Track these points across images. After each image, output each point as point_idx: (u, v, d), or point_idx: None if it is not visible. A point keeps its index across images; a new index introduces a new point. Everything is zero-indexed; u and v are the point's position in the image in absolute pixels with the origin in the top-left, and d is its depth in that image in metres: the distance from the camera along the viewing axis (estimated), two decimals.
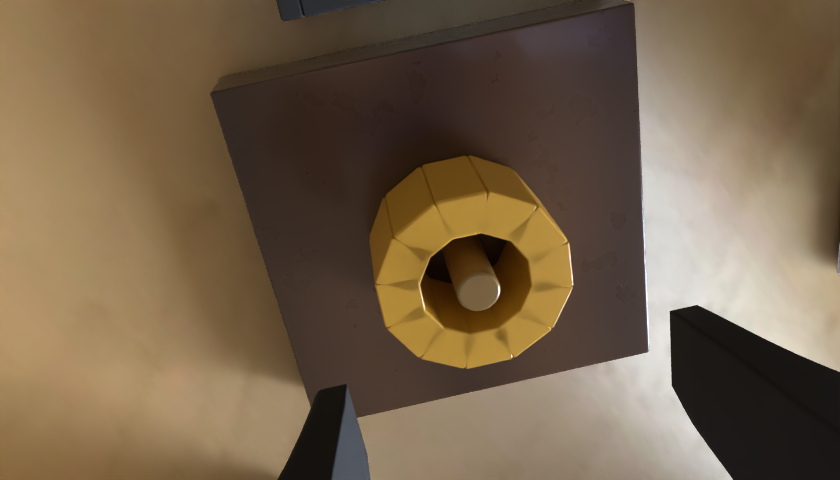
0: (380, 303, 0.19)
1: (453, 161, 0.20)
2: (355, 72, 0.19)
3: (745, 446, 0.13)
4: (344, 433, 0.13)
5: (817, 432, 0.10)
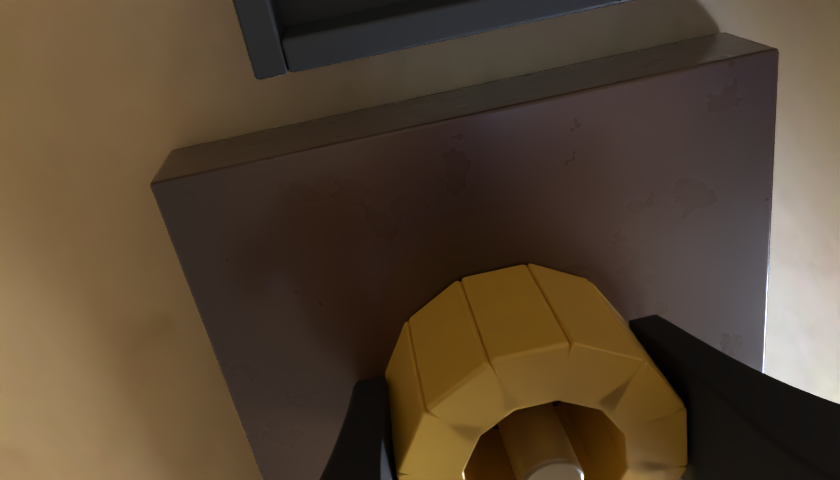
0: None
1: (507, 275, 0.14)
2: (367, 152, 0.13)
3: (698, 457, 0.13)
4: (386, 423, 0.13)
5: (759, 446, 0.10)
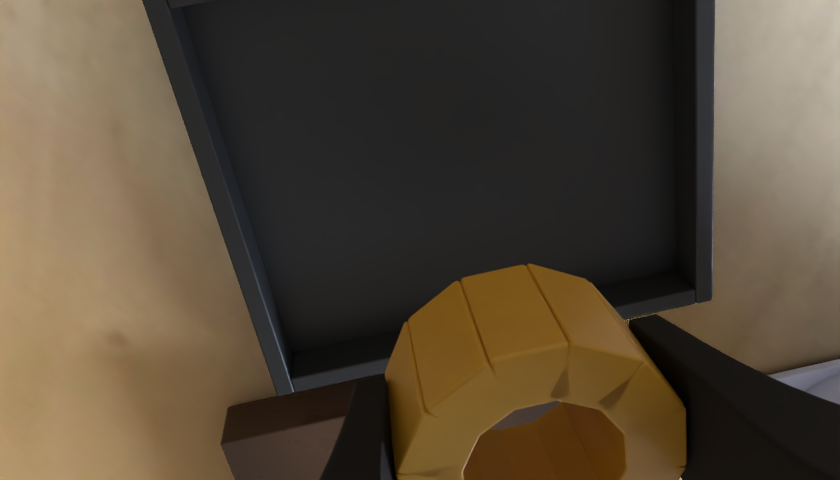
0: None
1: (507, 275, 0.14)
2: (336, 425, 0.24)
3: (698, 457, 0.13)
4: (386, 423, 0.13)
5: (759, 446, 0.10)
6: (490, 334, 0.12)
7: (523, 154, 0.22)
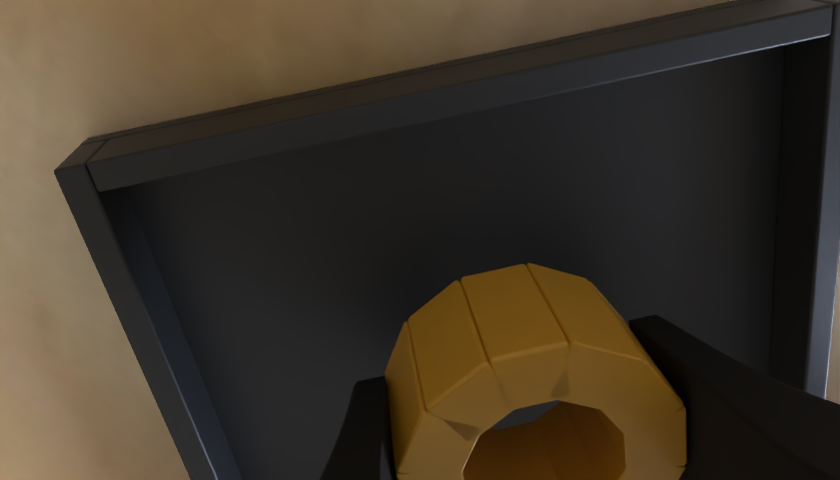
0: None
1: (507, 274, 0.14)
2: None
3: (698, 457, 0.13)
4: (386, 423, 0.13)
5: (759, 446, 0.10)
6: (490, 333, 0.12)
7: None
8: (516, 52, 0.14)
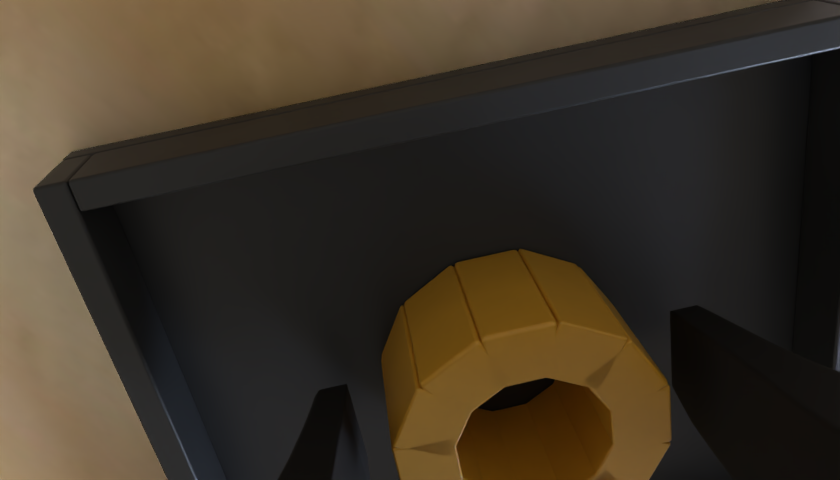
0: (399, 472, 0.13)
1: (499, 260, 0.15)
2: None
3: (745, 446, 0.13)
4: (344, 433, 0.13)
5: (817, 433, 0.10)
6: (482, 314, 0.13)
7: None
8: (527, 60, 0.13)
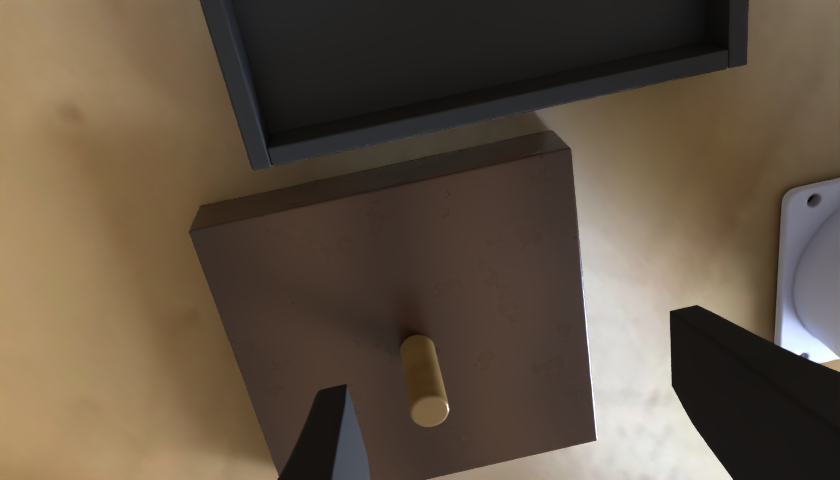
0: None
1: None
2: (319, 211, 0.21)
3: (745, 446, 0.13)
4: (344, 433, 0.13)
5: (817, 432, 0.10)
6: None
7: None
8: None
